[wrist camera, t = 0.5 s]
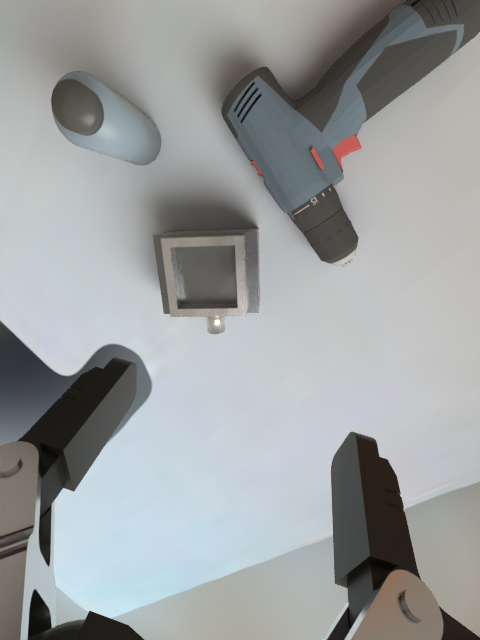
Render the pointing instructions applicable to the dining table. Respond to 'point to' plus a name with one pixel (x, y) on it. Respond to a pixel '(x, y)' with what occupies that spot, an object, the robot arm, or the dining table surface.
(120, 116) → the capped canister
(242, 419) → the dining table surface
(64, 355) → the dining table surface
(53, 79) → the dining table surface
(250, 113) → the power drill
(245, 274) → the grey metal open box
